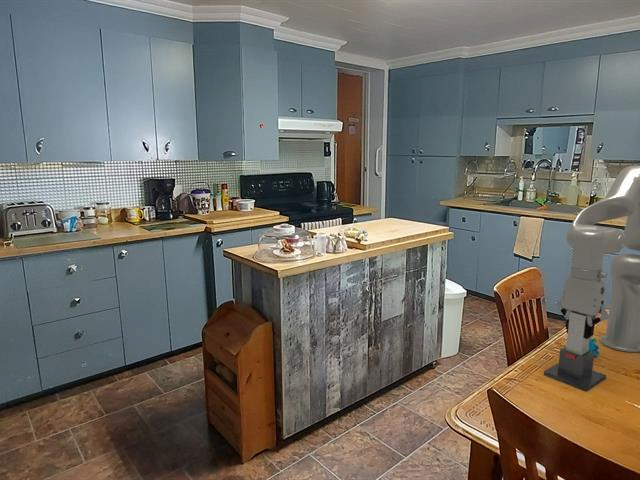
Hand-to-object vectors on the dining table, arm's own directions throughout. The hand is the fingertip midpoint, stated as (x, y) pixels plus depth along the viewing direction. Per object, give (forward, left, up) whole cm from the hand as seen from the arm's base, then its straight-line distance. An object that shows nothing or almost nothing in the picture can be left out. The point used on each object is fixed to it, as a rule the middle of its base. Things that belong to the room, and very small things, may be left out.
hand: (578, 334), depth 127 cm
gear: (-20, -5, -14) cm, 25 cm away
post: (0, 0, -7) cm, 7 cm away
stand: (0, 0, -13) cm, 13 cm away
